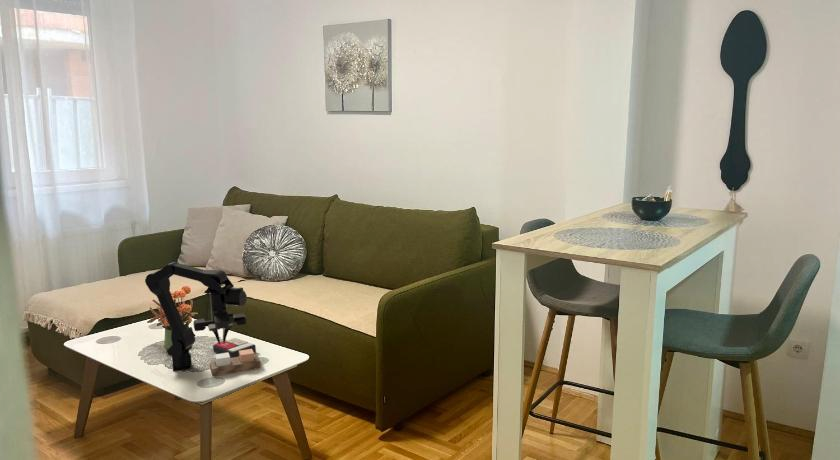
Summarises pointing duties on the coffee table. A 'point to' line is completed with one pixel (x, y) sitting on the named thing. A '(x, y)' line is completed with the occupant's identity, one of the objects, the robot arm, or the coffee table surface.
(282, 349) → the coffee table surface
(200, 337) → the coffee table surface
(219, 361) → the cream key
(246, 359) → the tan wooden block
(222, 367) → the key panel
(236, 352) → the calculator
